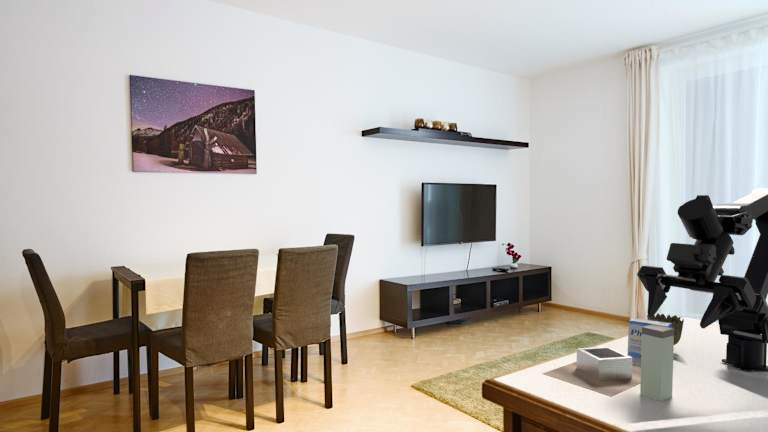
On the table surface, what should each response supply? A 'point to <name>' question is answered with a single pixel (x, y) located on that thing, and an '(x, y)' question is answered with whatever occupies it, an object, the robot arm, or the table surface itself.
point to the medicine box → (639, 334)
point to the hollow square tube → (604, 363)
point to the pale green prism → (657, 362)
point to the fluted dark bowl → (676, 324)
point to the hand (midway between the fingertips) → (674, 321)
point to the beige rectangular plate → (586, 381)
